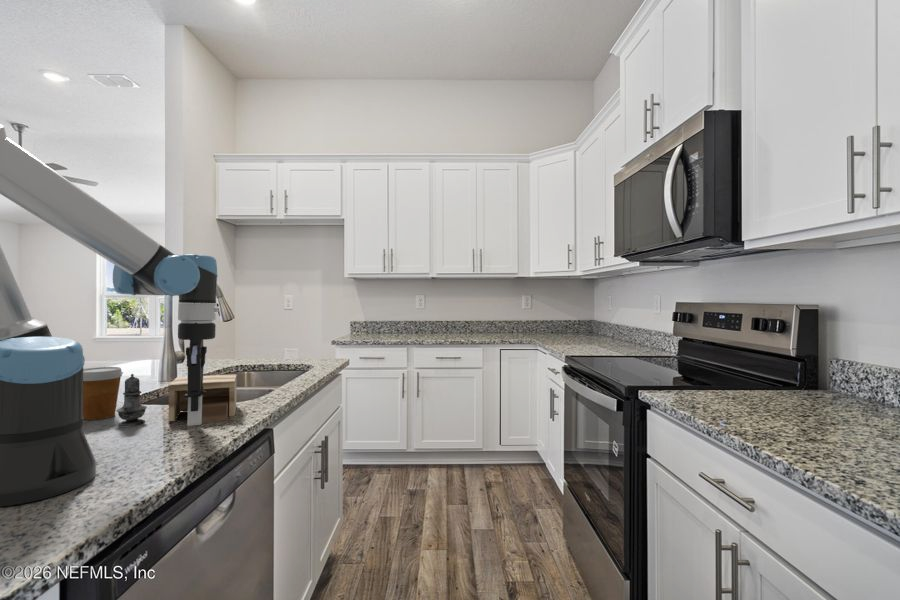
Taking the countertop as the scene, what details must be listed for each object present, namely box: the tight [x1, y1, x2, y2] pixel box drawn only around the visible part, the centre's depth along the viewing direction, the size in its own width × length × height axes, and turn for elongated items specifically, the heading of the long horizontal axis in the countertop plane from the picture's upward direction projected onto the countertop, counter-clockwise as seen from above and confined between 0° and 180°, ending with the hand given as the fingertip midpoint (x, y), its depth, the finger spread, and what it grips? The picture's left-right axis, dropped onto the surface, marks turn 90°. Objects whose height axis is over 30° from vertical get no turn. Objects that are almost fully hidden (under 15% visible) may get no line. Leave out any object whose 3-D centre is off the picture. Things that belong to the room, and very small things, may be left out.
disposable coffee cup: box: [83, 366, 124, 421], centre depth 110 cm, size 10×10×12 cm
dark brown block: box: [201, 396, 229, 424], centre depth 112 cm, size 12×8×4 cm, turn 22°
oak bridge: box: [168, 373, 238, 423], centre depth 114 cm, size 11×14×9 cm
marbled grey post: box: [116, 373, 148, 427], centre depth 105 cm, size 6×6×12 cm
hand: (194, 424), depth 100 cm, fingers closed
